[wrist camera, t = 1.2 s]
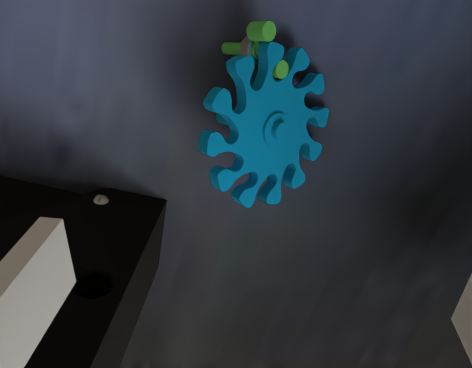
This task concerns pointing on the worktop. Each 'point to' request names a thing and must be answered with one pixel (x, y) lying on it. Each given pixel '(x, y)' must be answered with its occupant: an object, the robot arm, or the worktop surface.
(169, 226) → the worktop surface
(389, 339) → the worktop surface
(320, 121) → the gear
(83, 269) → the electrical component
